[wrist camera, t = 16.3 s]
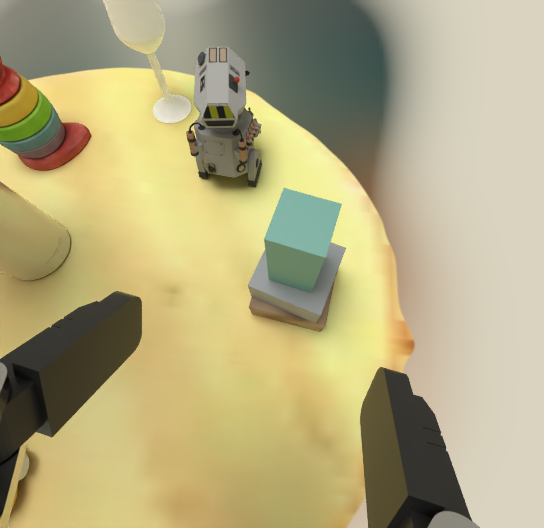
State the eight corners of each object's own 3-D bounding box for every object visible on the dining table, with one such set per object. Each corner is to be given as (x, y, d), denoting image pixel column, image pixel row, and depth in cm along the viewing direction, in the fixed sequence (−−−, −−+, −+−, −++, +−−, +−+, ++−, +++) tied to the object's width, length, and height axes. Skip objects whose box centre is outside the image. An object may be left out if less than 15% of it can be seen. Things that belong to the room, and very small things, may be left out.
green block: (268, 279, 31) (264, 239, 22) (282, 241, 32) (283, 188, 23) (311, 293, 30) (325, 257, 21) (323, 253, 32) (341, 204, 22)
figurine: (269, 138, 49) (266, 42, 35) (253, 196, 45) (243, 114, 31) (216, 130, 50) (192, 32, 36) (195, 186, 46) (160, 102, 32)
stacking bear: (95, 131, 50) (5, 8, 33) (64, 179, 46) (-55, 68, 30) (40, 117, 51) (-74, -8, 35) (5, 163, 48) (-140, 49, 31)
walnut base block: (252, 314, 39) (248, 306, 35) (269, 252, 42) (268, 239, 38) (319, 331, 38) (325, 326, 34) (332, 267, 41) (339, 255, 37)
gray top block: (251, 296, 35) (247, 285, 31) (277, 239, 38) (277, 222, 33) (315, 323, 34) (320, 315, 30) (338, 262, 36) (345, 248, 32)
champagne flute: (167, 129, 50) (77, -74, 27) (145, 107, 52) (44, -100, 29) (199, 109, 51) (139, -99, 29) (176, 88, 53) (104, -123, 31)
